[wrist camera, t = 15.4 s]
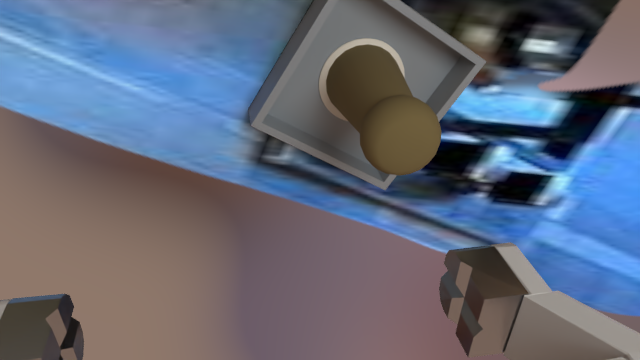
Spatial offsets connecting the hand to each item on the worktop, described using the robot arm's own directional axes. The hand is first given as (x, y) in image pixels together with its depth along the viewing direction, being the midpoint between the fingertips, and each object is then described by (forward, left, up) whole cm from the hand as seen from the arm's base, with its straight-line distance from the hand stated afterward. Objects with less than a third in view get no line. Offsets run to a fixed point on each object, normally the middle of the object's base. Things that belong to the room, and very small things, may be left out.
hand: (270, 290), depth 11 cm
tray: (+10, -7, -29) cm, 32 cm away
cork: (+10, -7, -28) cm, 31 cm away
